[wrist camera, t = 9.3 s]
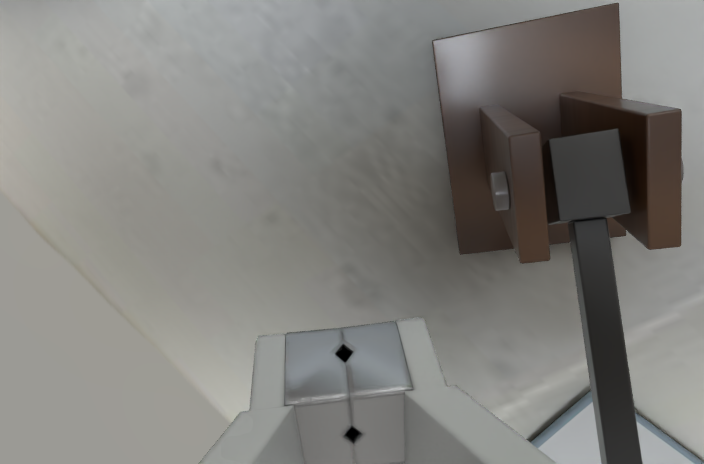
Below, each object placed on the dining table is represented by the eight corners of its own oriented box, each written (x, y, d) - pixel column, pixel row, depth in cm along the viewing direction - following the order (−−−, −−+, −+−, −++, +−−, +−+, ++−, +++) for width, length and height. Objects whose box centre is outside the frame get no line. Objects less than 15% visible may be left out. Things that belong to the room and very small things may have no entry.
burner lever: (675, 553, 18) (726, 626, 15) (570, 553, 19) (595, 622, 16) (614, 143, 19) (649, 119, 16) (516, 157, 20) (528, 138, 16)
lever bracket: (619, 229, 29) (748, 347, 17) (459, 248, 31) (472, 365, 19) (611, 5, 25) (766, -50, 13) (432, 41, 27) (427, 22, 15)
